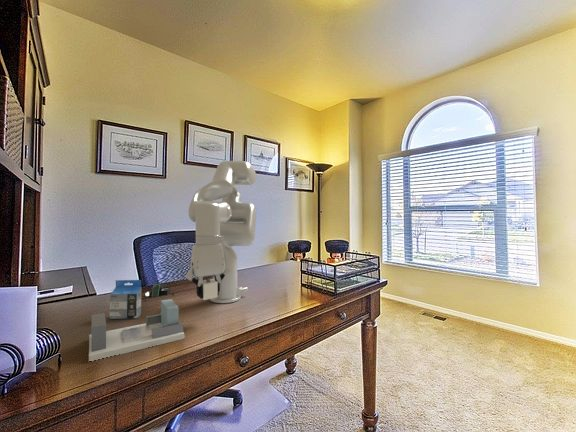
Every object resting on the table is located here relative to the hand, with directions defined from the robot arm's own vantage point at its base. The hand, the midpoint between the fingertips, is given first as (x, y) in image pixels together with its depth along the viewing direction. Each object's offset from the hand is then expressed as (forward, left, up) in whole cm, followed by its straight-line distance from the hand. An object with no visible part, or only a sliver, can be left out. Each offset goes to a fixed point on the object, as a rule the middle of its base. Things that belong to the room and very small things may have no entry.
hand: (208, 295), depth 90 cm
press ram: (+12, +1, -7) cm, 14 cm away
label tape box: (+22, -20, -9) cm, 31 cm away
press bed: (+20, +1, -7) cm, 22 cm away
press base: (+21, +1, -9) cm, 23 cm away
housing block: (0, 0, 0) cm, 0 cm away
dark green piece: (+6, -43, -10) cm, 44 cm away
